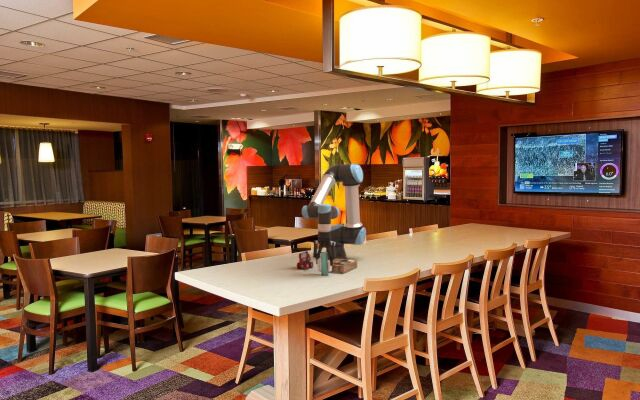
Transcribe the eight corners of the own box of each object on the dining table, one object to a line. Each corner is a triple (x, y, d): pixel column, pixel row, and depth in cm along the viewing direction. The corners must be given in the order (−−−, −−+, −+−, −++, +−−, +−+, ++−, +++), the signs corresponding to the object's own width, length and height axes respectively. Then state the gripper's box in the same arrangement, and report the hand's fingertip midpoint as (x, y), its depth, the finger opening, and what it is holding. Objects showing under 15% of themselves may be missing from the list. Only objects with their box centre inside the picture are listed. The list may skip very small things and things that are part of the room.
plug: (319, 275, 277) (319, 252, 276) (323, 273, 281) (323, 251, 280) (326, 275, 275) (326, 253, 274) (329, 274, 279) (329, 252, 278)
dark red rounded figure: (315, 267, 300) (315, 250, 299) (304, 270, 289) (304, 253, 289) (305, 266, 303) (305, 249, 303) (295, 269, 293) (294, 252, 292)
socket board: (322, 271, 286) (322, 263, 286) (336, 265, 304) (336, 257, 304) (343, 273, 280) (343, 265, 280) (357, 267, 298) (357, 259, 297)
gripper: (306, 230, 277) (306, 270, 279) (336, 232, 268) (336, 273, 270) (312, 229, 284) (312, 267, 285) (342, 231, 275) (342, 270, 277)
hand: (324, 270), depth 278 cm, fingers open, 6 cm apart
